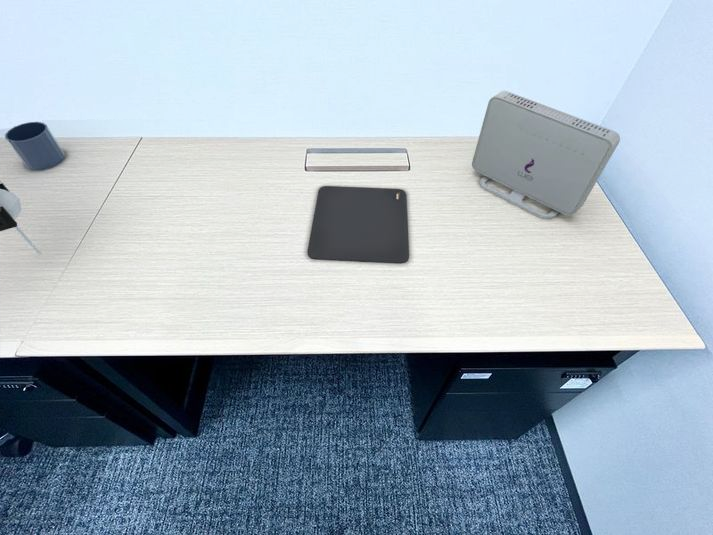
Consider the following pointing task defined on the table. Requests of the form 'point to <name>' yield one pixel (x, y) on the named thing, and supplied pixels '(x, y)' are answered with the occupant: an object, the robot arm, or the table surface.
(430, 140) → the table surface
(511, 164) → the network device
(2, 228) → the robot arm
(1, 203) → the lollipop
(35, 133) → the cup
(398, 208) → the mouse pad
